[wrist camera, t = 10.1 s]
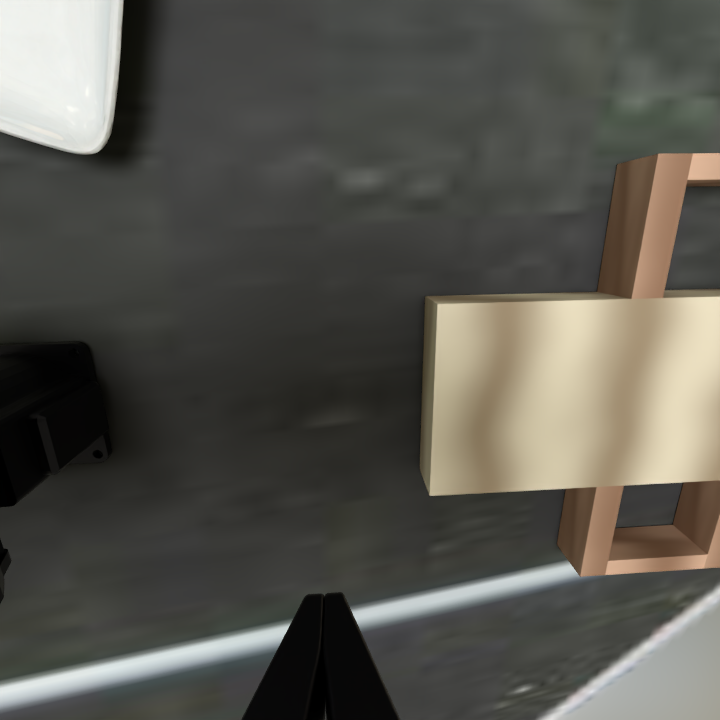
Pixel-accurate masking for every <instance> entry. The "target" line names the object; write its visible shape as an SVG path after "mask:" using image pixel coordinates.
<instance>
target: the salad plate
mask: <svg viewBox="0 0 720 720" xmlns="http://www.w3.org/2000/svg"><path fill="white" fill-rule="evenodd" d="M123 3H124V0H0V132H3V133H6V134H9V135H12V136H15V137H18V138H22V139H25V140H28V141H31V142H35V143H38V144H41V145H44V146H48V147H51V148H55V149H58V150H62V151H65V152H70V153H74V154H81V155H88V154H94V153H97V152H99V151H100V150H101V149H102V148H103V147H104V146H105V145H106V143H107V142H108V139H109V137H110V135H111V131H112V126H113V120H114V113H115V105H116V98H117V90H118V80H119V66H120V52H121V39H122V21H123Z"/></svg>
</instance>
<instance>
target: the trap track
mask: <svg viewBox="0 0 720 720" xmlns="http://www.w3.org/2000/svg"><path fill="white" fill-rule="evenodd" d="M687 186H720V153H699V154H655V155H652V156H648V157H644V158H640V159H636V160H632V161H628V162H625V163H621V164H617V169H616V176H615V182H614V188H613V194H612V201H611V207H610V213H609V220H608V226H607V232H606V239H605V245H604V251H603V257H602V264H601V270H600V276H599V283H598V289H597V292H571V293H532V294H493V295H453V296H425V319H424V351H423V382H422V413H421V444H420V471H421V474H422V477H423V479H424V482H425V485H426V488H427V490H428V493H429V496H437V495H456V494H475V493H493V492H512V491H531V490H549V489H566V490H565V497H564V503H563V509H562V516H561V522H560V528H559V535H558V541H557V545H558V547H559V548H560V550H561V551H562V552H563V554H564V555H565V556H566V558H567V559H568V561H569V562H570V563H571V565H572V566H573V567H574V569H575V570H576V572H577V573H578V574H579V576H580V577H581V576H596V575H611V574H626V573H641V572H656V571H671V570H686V569H701V568H716V567H720V289H689V290H665V285H666V280H667V276H668V271H669V266H670V261H671V256H672V252H673V247H674V242H675V237H676V232H677V228H678V223H679V218H680V213H681V208H682V204H683V199H684V194H685V189H686V187H687ZM680 482H684V483H683V487H682V491H681V495H680V499H679V502H678V506H677V510H676V514H675V518H674V522H673V525H661V526H644V527H628V528H615V525H616V521H617V516H618V511H619V506H620V501H621V497H622V492H623V487H624V485H642V484H661V483H680Z"/></svg>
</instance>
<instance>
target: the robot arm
mask: <svg viewBox="0 0 720 720" xmlns="http://www.w3.org/2000/svg"><path fill="white" fill-rule="evenodd" d="M74 349H76V350H78V352H79V356H77V355H75V354H74V352H73V350H74ZM108 428H109V427H108V422H107V418H106V413H105V409H104V404H103V400H102V395H101V391H100V386H99V385H98V384H97V382H96V378H95V374H94V369H93V365H92V360H91V356H90V351H89V349H88V347H87V346H86V345H85V344H83V343H82V342H77V341H76V342H43V343H10V344H0V507H8V506H14V505H15V504H16V503H18V502H19V501H20V500H21V499H22V498H24V497H25V496H26V495H27V494H28V493H30V492H31V491H32V490H33V489H34V488H36V487H37V486H38V485H39V484H40V483H42V482H43V481H44V480H45V479H46V478H48V477H49V476H50V475H54V474H57V473H58V472H60V471H61V470H62V469H63V468H64V467H65V466H67V465H68V464H81V463H100V462H104V461H105V460H107V459H108V458H109V457H110V455H111V453H112V449H111V445H110V440H109V436H108V431H107V430H108ZM97 450H100V451H101V452H102V453H103V455H102V454H99V453H98V451H97ZM10 563H11V558H10V555H9V552H8V550H7V549H4V548H3V545H2V543H1V540H0V603H1V601H2V599H3V598H4V575H5V573H6V571H7V569H8V567H9V565H10ZM325 708H326V718H327V720H400V717H399V715H398V713H397V711H396V709H395V706H394V704H393V702H392V700H391V697H390V695H389V693H388V691H387V689H386V686H385V684H384V682H383V680H382V678H381V675H380V673H379V671H378V669H377V667H376V664H375V662H374V660H373V658H372V655H371V653H370V651H369V649H368V647H367V644H366V642H365V640H364V638H363V636H362V633H361V631H360V629H359V627H358V625H357V622H356V620H355V618H354V616H353V614H352V611H351V609H350V607H349V605H348V602H347V600H346V598H345V596H344V594H343V593H341V592H338V593H327V594H326V595H325V598H324V595H323V594H308V595H306V596H305V598H304V599H303V601H302V603H301V605H300V607H299V609H298V611H297V613H296V615H295V617H294V619H293V620H292V622H291V624H290V626H289V628H288V630H287V632H286V634H285V636H284V638H283V640H282V642H281V644H280V646H279V648H278V650H277V651H276V653H275V655H274V657H273V659H272V661H271V663H270V665H269V667H268V669H267V671H266V673H265V675H264V677H263V679H262V681H261V683H260V684H259V686H258V688H257V690H256V692H255V694H254V696H253V698H252V700H251V702H250V704H249V706H248V708H247V710H246V712H245V714H244V715H243V717H242V719H241V720H325Z"/></svg>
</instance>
